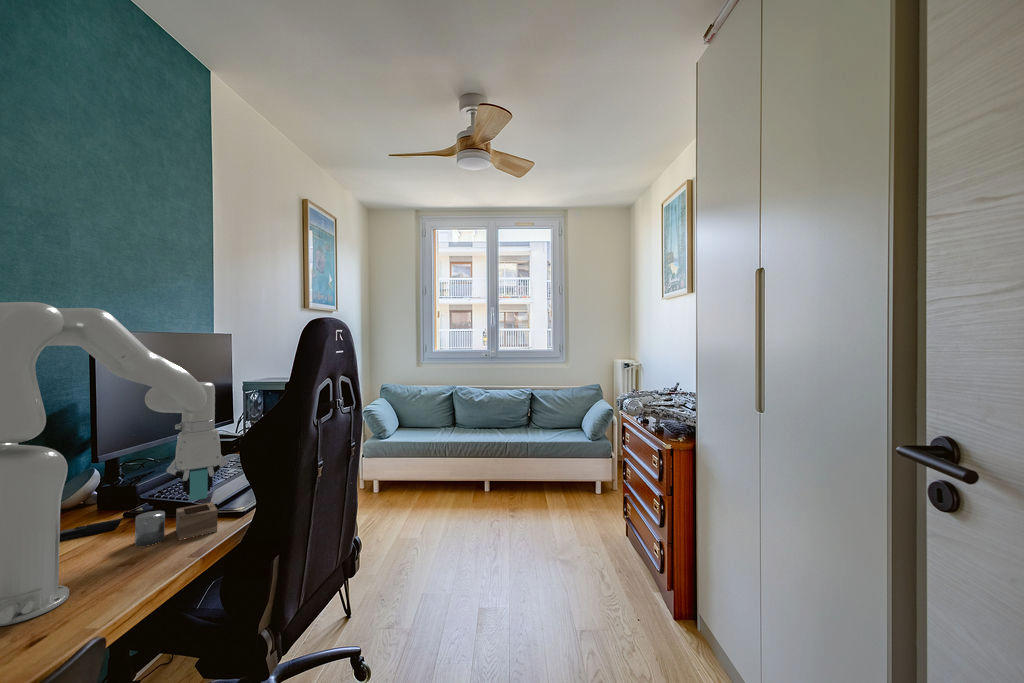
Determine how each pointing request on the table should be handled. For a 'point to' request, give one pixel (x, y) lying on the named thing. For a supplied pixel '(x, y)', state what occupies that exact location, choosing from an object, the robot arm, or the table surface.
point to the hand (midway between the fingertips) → (197, 491)
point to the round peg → (149, 528)
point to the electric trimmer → (89, 529)
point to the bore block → (196, 520)
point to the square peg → (198, 484)
